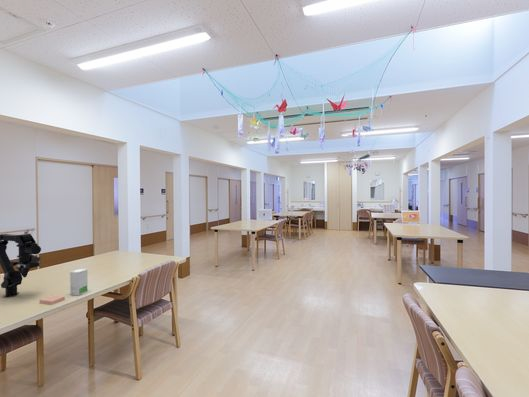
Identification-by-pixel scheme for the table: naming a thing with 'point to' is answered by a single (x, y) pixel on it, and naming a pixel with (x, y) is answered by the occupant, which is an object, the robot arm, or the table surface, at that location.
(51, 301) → the pink flat block
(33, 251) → the robot arm
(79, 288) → the skincare box
